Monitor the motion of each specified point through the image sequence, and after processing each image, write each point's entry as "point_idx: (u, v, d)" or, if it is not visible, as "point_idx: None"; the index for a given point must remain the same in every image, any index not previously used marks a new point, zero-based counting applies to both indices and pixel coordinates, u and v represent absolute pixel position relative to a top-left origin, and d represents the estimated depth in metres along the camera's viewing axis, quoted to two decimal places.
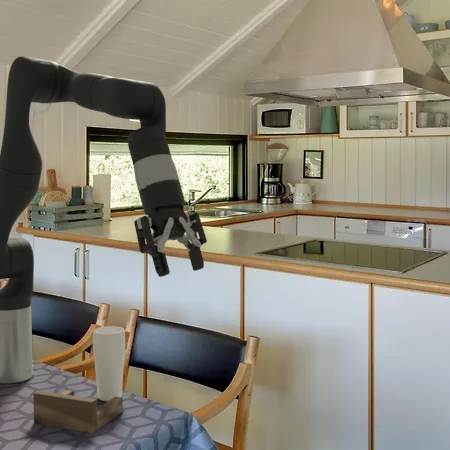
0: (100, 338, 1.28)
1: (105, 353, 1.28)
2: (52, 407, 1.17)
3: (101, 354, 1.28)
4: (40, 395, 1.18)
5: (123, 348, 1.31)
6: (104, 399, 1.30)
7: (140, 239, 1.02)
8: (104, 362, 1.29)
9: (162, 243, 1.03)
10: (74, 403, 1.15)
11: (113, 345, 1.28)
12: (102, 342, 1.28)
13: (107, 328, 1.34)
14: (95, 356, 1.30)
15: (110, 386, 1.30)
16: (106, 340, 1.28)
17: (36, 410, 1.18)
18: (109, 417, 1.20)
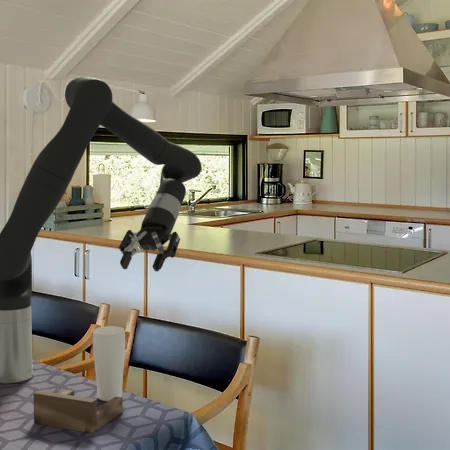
0: (100, 338, 1.28)
1: (105, 353, 1.28)
2: (52, 407, 1.17)
3: (101, 354, 1.28)
4: (40, 395, 1.18)
5: (123, 348, 1.31)
6: (104, 399, 1.30)
7: None
8: (104, 362, 1.29)
9: None
10: (74, 403, 1.15)
11: (113, 345, 1.28)
12: (102, 342, 1.28)
13: (107, 328, 1.34)
14: (95, 356, 1.30)
15: (110, 386, 1.30)
16: (106, 340, 1.28)
17: (36, 410, 1.18)
18: (109, 417, 1.20)
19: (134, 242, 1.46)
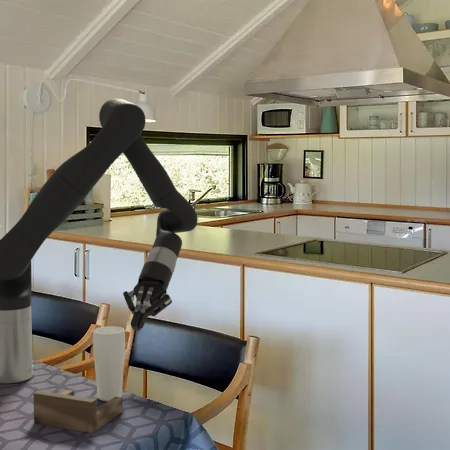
0: (100, 338, 1.28)
1: (105, 353, 1.28)
2: (52, 407, 1.17)
3: (101, 354, 1.28)
4: (40, 395, 1.18)
5: (123, 348, 1.31)
6: (104, 399, 1.30)
7: None
8: (104, 362, 1.29)
9: None
10: (74, 403, 1.15)
11: (113, 345, 1.28)
12: (102, 342, 1.28)
13: (107, 328, 1.34)
14: (95, 356, 1.30)
15: (110, 386, 1.30)
16: (106, 340, 1.28)
17: (36, 410, 1.18)
18: (109, 417, 1.20)
19: (139, 300, 1.45)
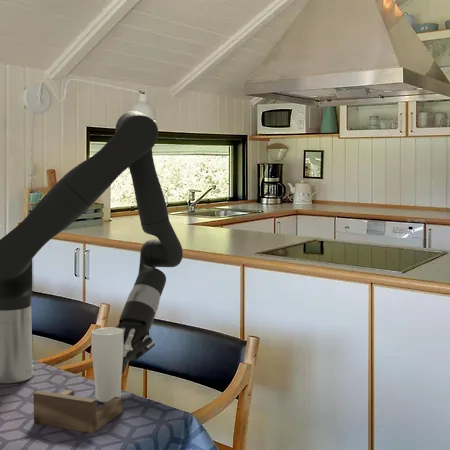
0: (98, 339, 1.27)
1: (103, 354, 1.27)
2: (52, 407, 1.17)
3: (99, 355, 1.28)
4: (40, 395, 1.18)
5: (122, 349, 1.30)
6: (102, 400, 1.29)
7: (139, 350, 1.36)
8: (102, 363, 1.28)
9: None
10: (74, 403, 1.15)
11: (112, 346, 1.28)
12: (101, 343, 1.27)
13: (105, 329, 1.33)
14: (93, 357, 1.29)
15: (108, 387, 1.29)
16: (104, 341, 1.27)
17: (36, 410, 1.18)
18: (109, 417, 1.20)
19: None
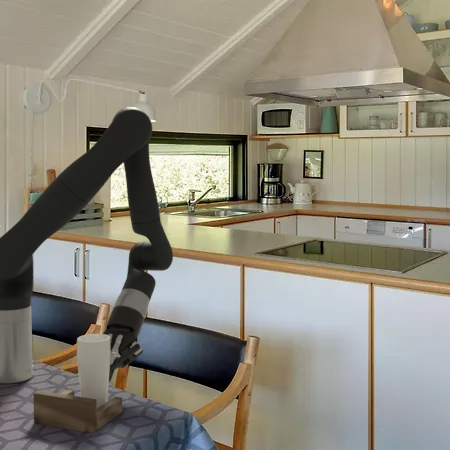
0: (84, 347, 1.22)
1: (90, 362, 1.22)
2: (52, 407, 1.17)
3: (85, 363, 1.22)
4: (40, 395, 1.18)
5: (109, 357, 1.24)
6: None
7: None
8: (89, 372, 1.22)
9: None
10: (74, 403, 1.15)
11: (98, 354, 1.22)
12: (87, 350, 1.22)
13: (91, 336, 1.28)
14: (79, 365, 1.23)
15: (95, 397, 1.23)
16: (90, 348, 1.22)
17: (36, 410, 1.18)
18: (109, 417, 1.20)
19: None
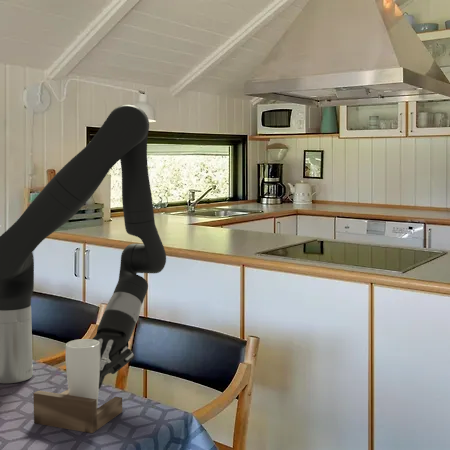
0: (73, 353, 1.18)
1: (79, 369, 1.18)
2: (52, 407, 1.17)
3: (74, 370, 1.18)
4: (40, 395, 1.18)
5: (98, 363, 1.21)
6: None
7: None
8: (78, 378, 1.18)
9: None
10: (74, 403, 1.15)
11: (87, 360, 1.18)
12: (76, 356, 1.18)
13: (80, 341, 1.24)
14: (68, 372, 1.19)
15: None
16: (79, 354, 1.18)
17: (36, 410, 1.18)
18: (109, 417, 1.20)
19: None
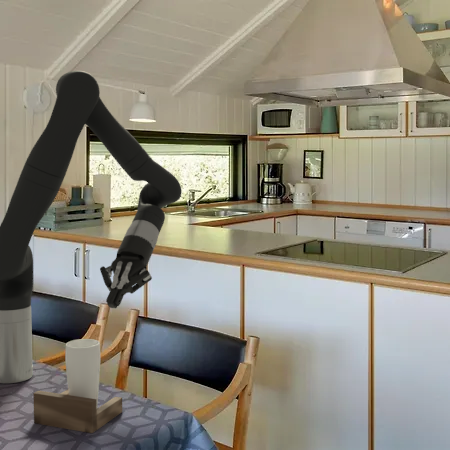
0: (73, 353, 1.18)
1: (79, 368, 1.18)
2: (52, 407, 1.17)
3: (74, 370, 1.18)
4: (40, 395, 1.18)
5: (98, 363, 1.21)
6: None
7: (136, 282, 1.34)
8: (77, 378, 1.18)
9: None
10: (74, 403, 1.15)
11: (87, 360, 1.18)
12: (75, 356, 1.18)
13: (80, 341, 1.24)
14: (68, 372, 1.19)
15: None
16: (79, 354, 1.18)
17: (36, 410, 1.18)
18: (109, 417, 1.20)
19: (116, 275, 1.36)
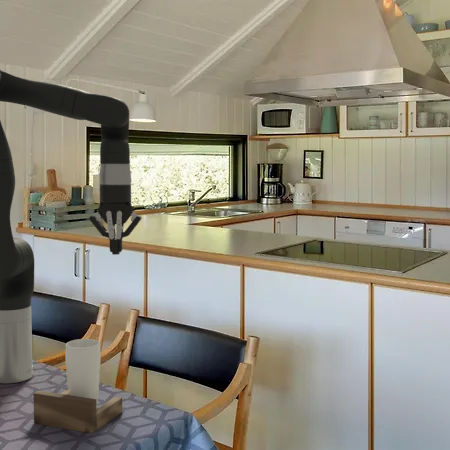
0: (73, 353, 1.18)
1: (79, 368, 1.18)
2: (52, 407, 1.17)
3: (74, 370, 1.18)
4: (40, 395, 1.18)
5: (98, 363, 1.21)
6: None
7: (131, 229, 1.47)
8: (77, 378, 1.18)
9: None
10: (74, 403, 1.15)
11: (87, 360, 1.18)
12: (75, 356, 1.18)
13: (80, 341, 1.24)
14: (68, 372, 1.19)
15: None
16: (79, 354, 1.18)
17: (36, 410, 1.18)
18: (109, 417, 1.20)
19: (111, 226, 1.46)
